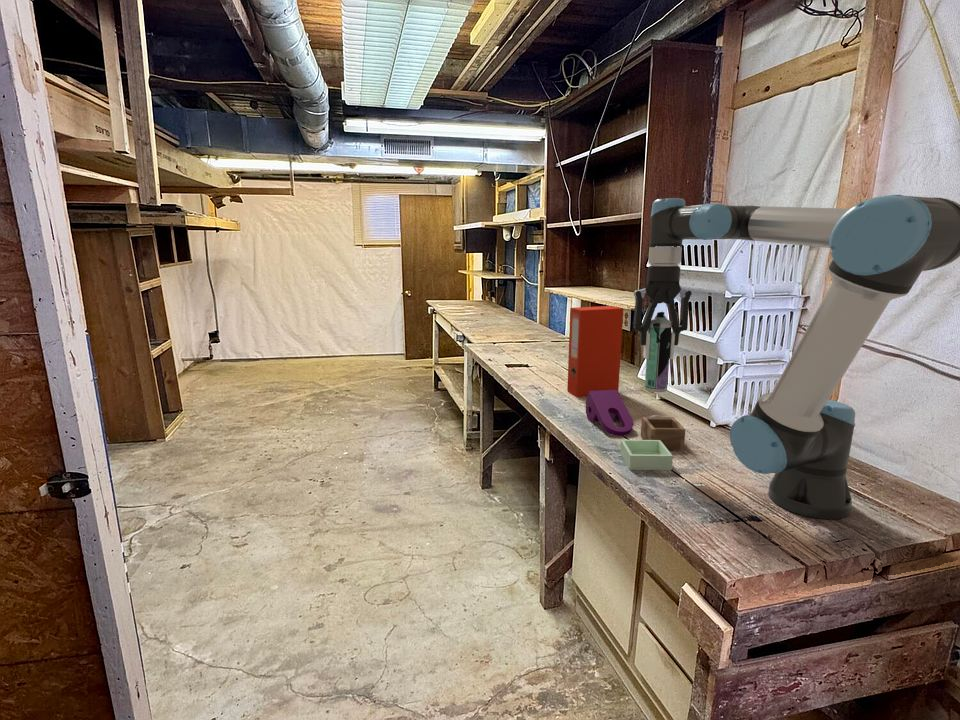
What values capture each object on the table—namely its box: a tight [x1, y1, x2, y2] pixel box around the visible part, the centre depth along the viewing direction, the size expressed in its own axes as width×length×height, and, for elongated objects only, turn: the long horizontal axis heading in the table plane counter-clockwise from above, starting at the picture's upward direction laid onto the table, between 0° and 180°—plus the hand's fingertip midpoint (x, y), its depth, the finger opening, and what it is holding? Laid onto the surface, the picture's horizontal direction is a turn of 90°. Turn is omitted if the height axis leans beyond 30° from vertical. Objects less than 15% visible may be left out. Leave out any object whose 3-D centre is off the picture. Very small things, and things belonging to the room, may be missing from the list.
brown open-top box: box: [640, 414, 686, 451], centre depth 145 cm, size 12×9×6 cm
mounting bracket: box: [585, 389, 635, 437], centre depth 159 cm, size 9×8×18 cm
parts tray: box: [619, 439, 674, 471], centre depth 132 cm, size 10×10×4 cm
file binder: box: [566, 305, 624, 398], centre depth 190 cm, size 8×17×32 cm, turn 108°
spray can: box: [644, 311, 672, 393], centre depth 130 cm, size 6×6×20 cm
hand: (658, 357), depth 130 cm, fingers closed on spray can, 5 cm apart
